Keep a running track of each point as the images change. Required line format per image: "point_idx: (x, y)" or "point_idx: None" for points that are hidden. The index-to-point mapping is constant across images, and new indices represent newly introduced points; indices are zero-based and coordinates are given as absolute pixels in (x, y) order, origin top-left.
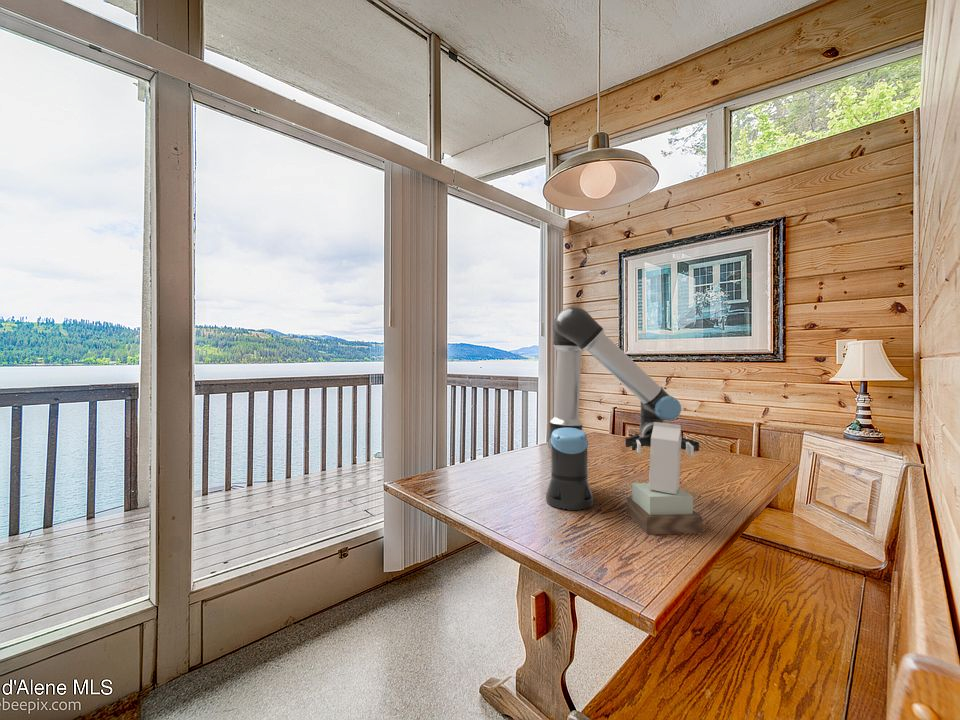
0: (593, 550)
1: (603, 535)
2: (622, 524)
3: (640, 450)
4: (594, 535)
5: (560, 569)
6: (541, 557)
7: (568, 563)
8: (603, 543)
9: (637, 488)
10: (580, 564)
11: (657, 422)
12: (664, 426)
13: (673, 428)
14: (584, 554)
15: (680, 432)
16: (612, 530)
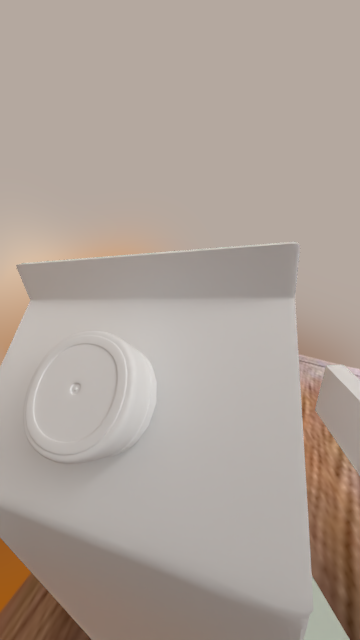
0: (307, 401)
1: (325, 458)
2: (322, 554)
3: (321, 396)
4: (340, 453)
5: (314, 359)
6: (352, 371)
7: (315, 369)
8: (306, 426)
9: (322, 596)
10: (301, 371)
11: (242, 248)
12: (162, 292)
13: (88, 299)
14: (311, 389)
15: (6, 367)
16: (323, 493)
